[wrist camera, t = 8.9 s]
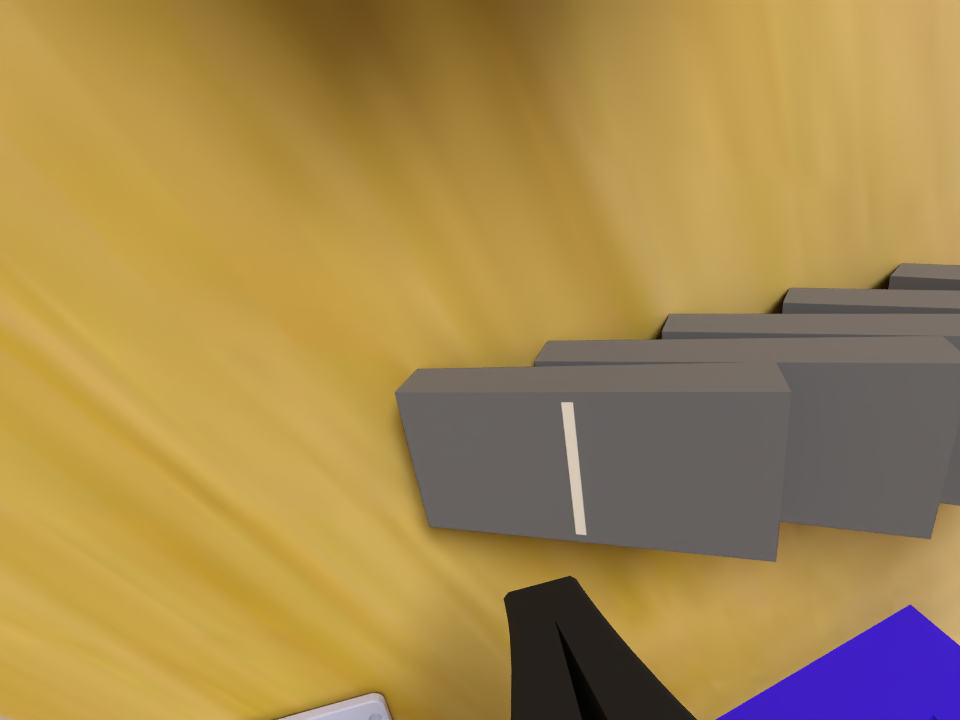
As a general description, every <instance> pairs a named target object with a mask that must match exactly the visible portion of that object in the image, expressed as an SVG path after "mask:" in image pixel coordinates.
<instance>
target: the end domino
mask: <svg viewBox="0 0 960 720" xmlns="http://www.w3.org/2000/svg"><path fill="white" fill-rule="evenodd" d="M888 290H947V291H960V265H935V264H908V263H902V264H901V265H900V266H899V267H898V268H897V269H896V270H895V271H894V273H893V274H892V275H891V276H890V281H889V287H888Z"/></svg>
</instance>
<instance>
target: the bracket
mask: <svg viewBox="0 0 960 720" xmlns="http://www.w3.org/2000/svg"><path fill="white" fill-rule="evenodd" d="M716 720H960V646H959V645H958V644H957V643H956V642H955V641H953V640H952V639H951V638H950V637H949V636H947V635H946V634H945V633H944V632H943V631H941V630H940V629H939V628H938V627H937V626H935V625H934V624H933V623H932V622H931V621H929V620H928V619H927V618H926V617H925V616H923V615H922V614H921V613H920V612H919V611H917V610H916V609H915V608H914V607H913V606H912V605H909V606H907V607H905V608H904V609H902V610H900V611H899V612H897V613H895V614H893V615H892V616H890V617H888V618H887V619H885V620H883V621H882V622H880V623H878V624H877V625H875V626H873V627H872V628H870V629H868V630H866V631H865V632H863V633H861V634H860V635H858V636H856V637H855V638H853V639H851V640H850V641H848V642H846V643H845V644H843V645H841V646H839V647H838V648H836V649H834V650H833V651H831V652H829V653H828V654H826V655H824V656H823V657H821V658H819V659H817V660H816V661H814V662H812V663H811V664H809V665H807V666H806V667H804V668H802V669H801V670H799V671H797V672H796V673H794V674H792V675H790V676H789V677H787V678H785V679H784V680H782V681H780V682H779V683H777V684H775V685H774V686H772V687H770V688H769V689H767V690H765V691H763V692H762V693H760V694H758V695H757V696H755V697H753V698H752V699H750V700H748V701H747V702H745V703H743V704H741V705H740V706H738V707H736V708H735V709H733V710H731V711H730V712H728V713H726V714H725V715H723V716H721V717H720V718H718V719H716Z"/></svg>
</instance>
